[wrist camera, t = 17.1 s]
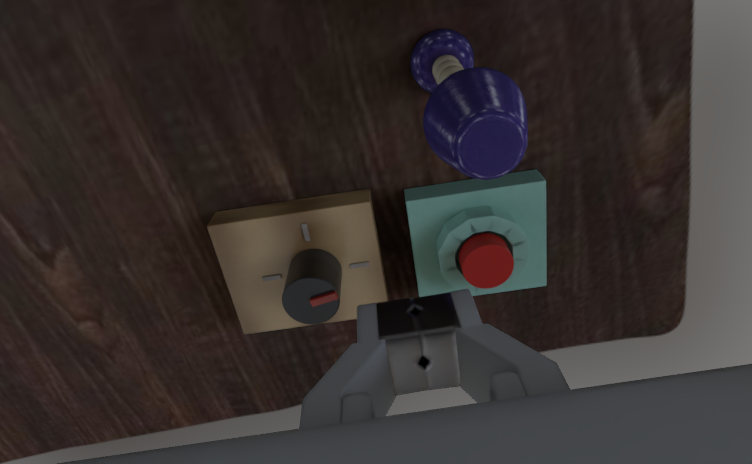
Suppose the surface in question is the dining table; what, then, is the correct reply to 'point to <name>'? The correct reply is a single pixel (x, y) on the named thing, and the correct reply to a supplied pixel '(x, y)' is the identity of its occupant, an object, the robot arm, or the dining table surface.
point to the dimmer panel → (287, 239)
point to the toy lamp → (469, 108)
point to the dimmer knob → (312, 287)
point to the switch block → (478, 229)
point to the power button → (486, 261)
